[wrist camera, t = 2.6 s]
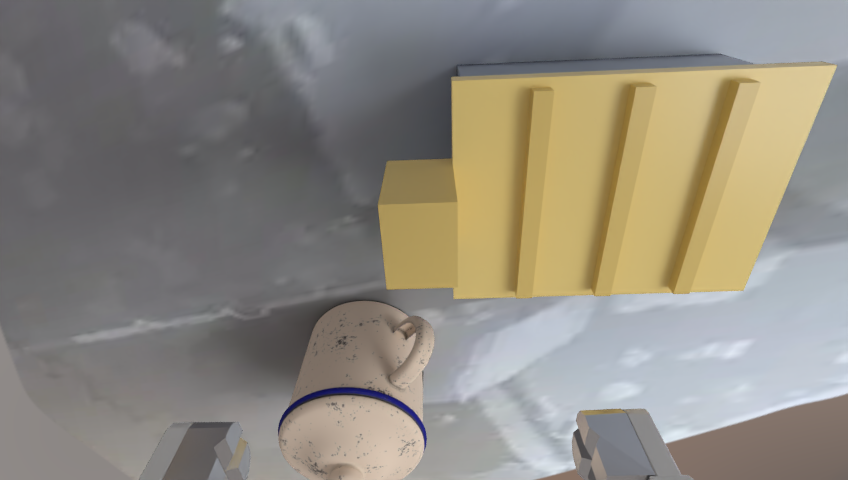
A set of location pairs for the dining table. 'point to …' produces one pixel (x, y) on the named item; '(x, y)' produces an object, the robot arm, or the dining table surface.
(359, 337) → the teacup with lid
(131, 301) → the dining table surface
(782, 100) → the yellow flat ridged piece
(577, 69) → the tub
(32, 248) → the dining table surface
